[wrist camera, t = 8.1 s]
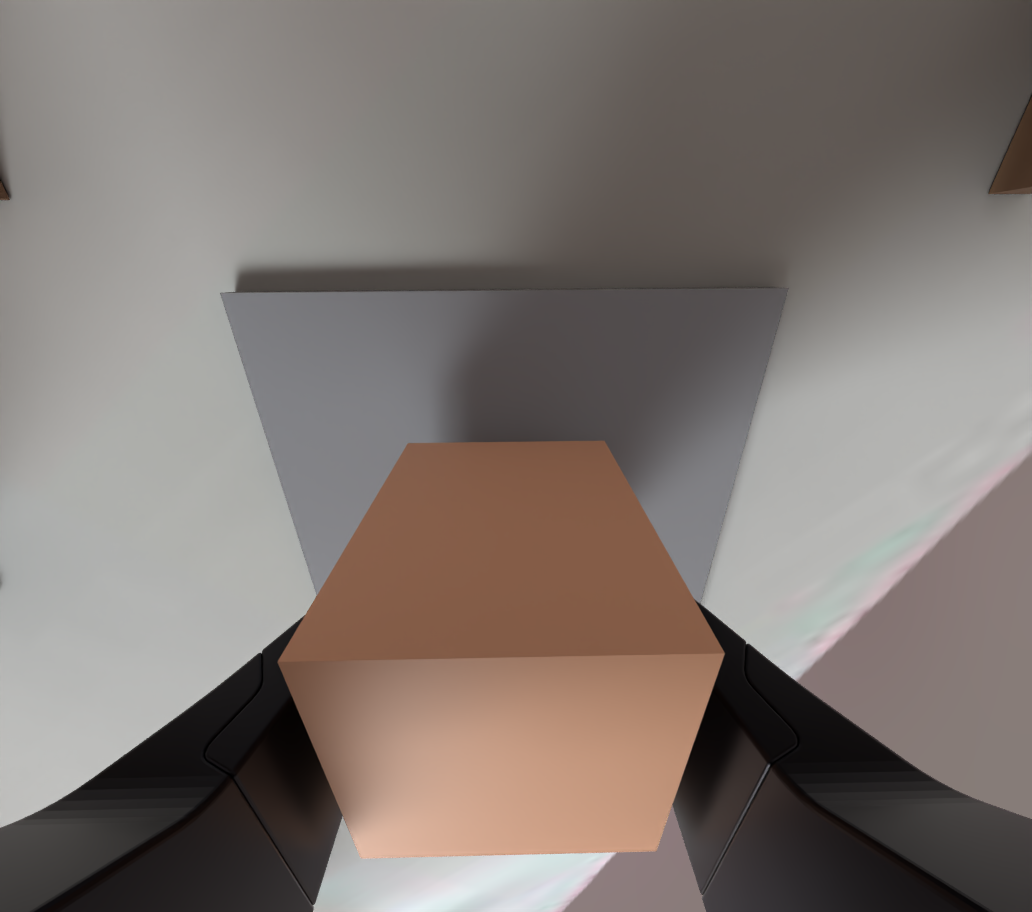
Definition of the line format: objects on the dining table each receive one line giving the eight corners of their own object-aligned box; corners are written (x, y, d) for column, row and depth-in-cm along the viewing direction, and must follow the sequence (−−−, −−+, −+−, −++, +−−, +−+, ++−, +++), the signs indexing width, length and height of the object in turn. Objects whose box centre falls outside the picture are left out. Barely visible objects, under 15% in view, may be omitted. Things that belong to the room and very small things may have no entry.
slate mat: (334, 623, 15) (329, 633, 14) (233, 292, 10) (220, 292, 9) (687, 617, 15) (693, 627, 15) (775, 287, 10) (788, 288, 9)
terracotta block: (428, 589, 12) (360, 858, 6) (407, 442, 10) (277, 662, 4) (589, 587, 12) (656, 850, 6) (604, 440, 10) (725, 653, 4)
